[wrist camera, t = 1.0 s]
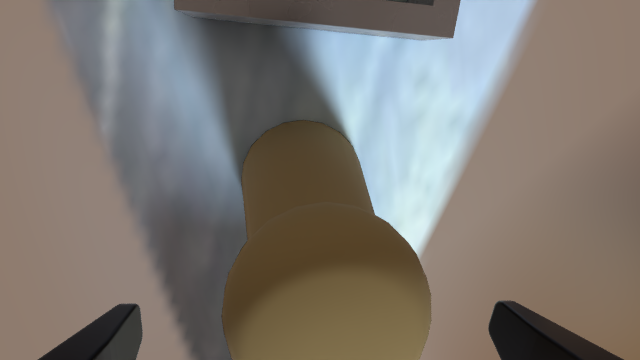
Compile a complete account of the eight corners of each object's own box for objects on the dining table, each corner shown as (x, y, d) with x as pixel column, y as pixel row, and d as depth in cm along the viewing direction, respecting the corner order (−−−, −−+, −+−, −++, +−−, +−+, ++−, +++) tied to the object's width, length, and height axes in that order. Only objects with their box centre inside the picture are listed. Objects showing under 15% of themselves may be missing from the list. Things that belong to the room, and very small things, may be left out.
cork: (379, 142, 17) (525, 273, 7) (336, 244, 19) (405, 467, 9) (261, 102, 16) (234, 193, 6) (227, 216, 18) (160, 439, 8)
